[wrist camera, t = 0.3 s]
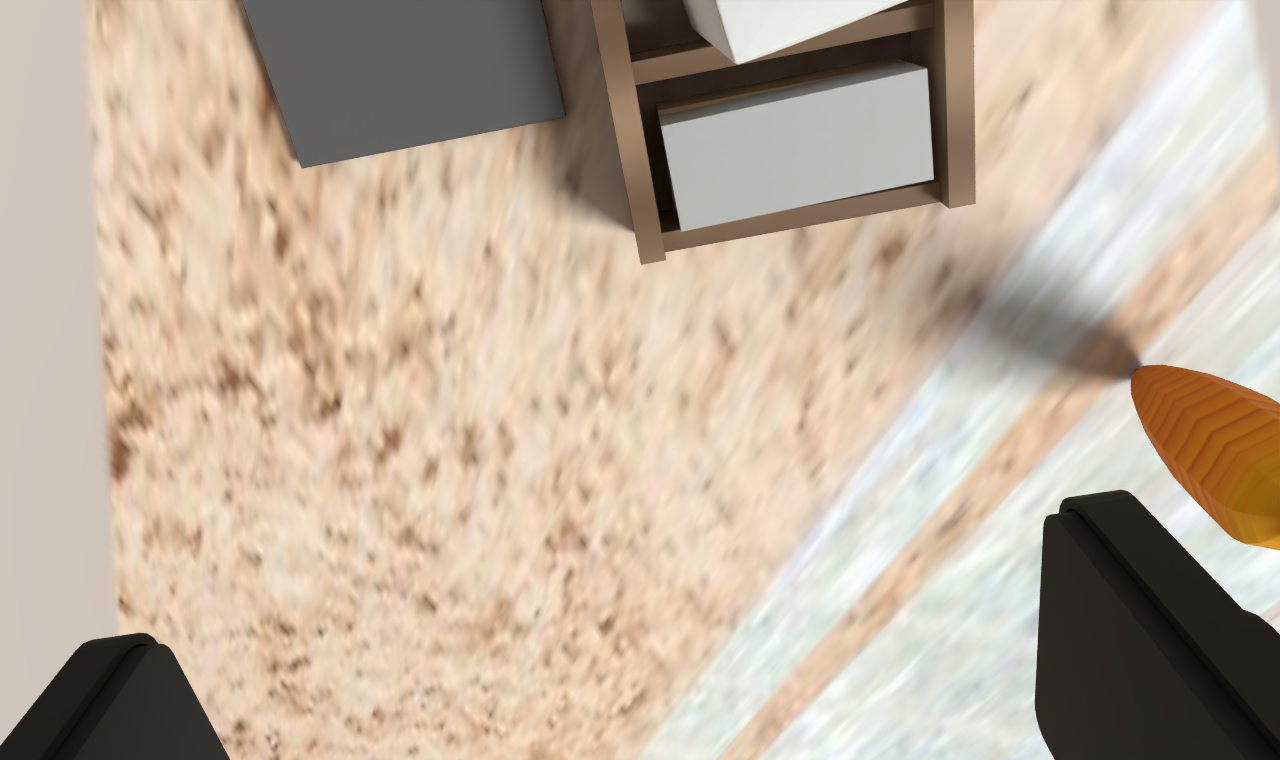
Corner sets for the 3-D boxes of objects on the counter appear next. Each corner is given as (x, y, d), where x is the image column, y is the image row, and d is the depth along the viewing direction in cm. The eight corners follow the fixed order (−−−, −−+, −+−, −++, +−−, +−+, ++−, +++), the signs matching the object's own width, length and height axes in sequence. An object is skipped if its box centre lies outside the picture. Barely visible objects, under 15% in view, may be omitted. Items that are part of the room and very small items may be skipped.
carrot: (1145, 304, 39) (1420, 485, 26) (1214, 361, 41) (1509, 561, 27) (1063, 384, 41) (1280, 593, 27) (1131, 436, 42) (1370, 660, 29)
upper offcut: (658, 115, 33) (661, 126, 31) (907, 61, 33) (927, 68, 30) (677, 215, 35) (681, 231, 33) (914, 165, 34) (933, 179, 32)
